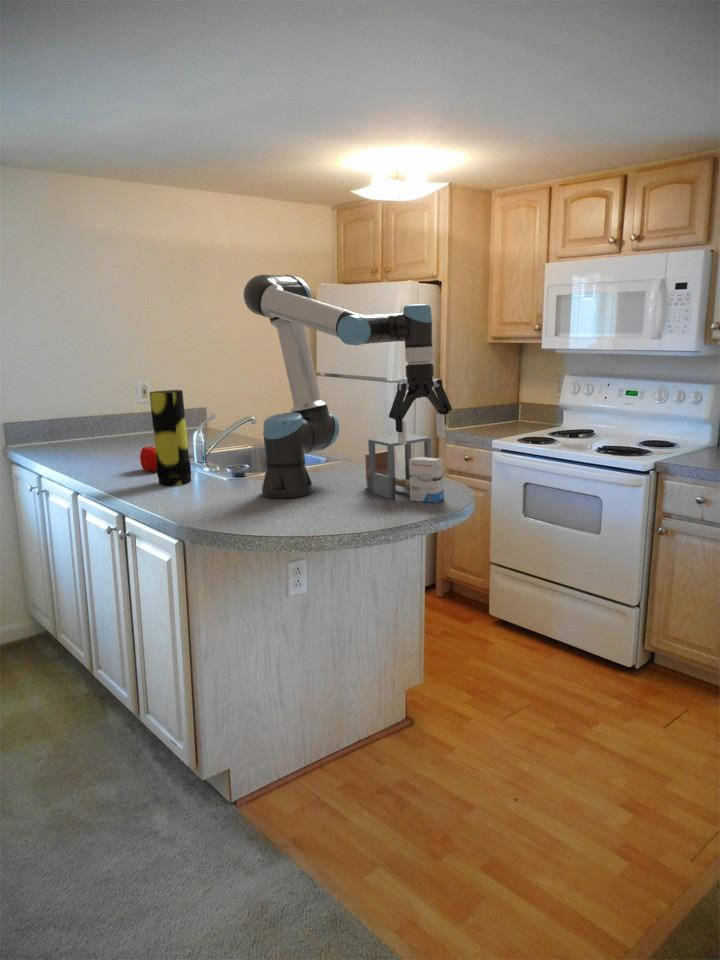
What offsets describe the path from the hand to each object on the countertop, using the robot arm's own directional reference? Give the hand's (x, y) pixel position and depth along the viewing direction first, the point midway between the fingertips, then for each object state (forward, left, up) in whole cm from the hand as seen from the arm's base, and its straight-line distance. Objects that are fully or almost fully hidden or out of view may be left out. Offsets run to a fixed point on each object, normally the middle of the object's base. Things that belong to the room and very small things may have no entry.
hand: (422, 440), depth 195 cm
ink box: (-1, -3, -17) cm, 17 cm away
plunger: (0, +11, -16) cm, 20 cm away
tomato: (-45, +96, -17) cm, 108 cm away
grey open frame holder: (0, +10, -16) cm, 19 cm away
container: (-47, +71, -17) cm, 87 cm away
